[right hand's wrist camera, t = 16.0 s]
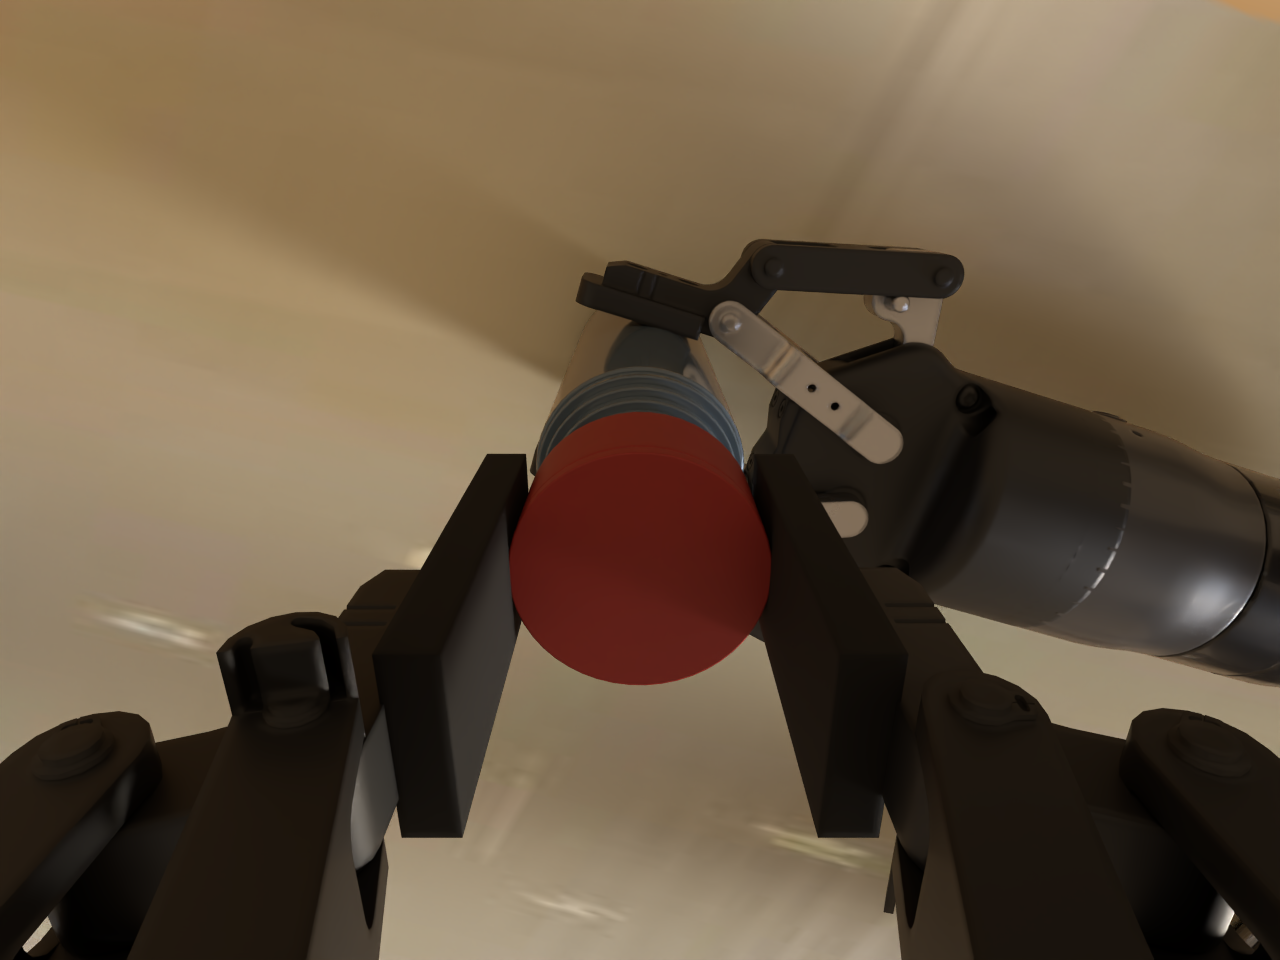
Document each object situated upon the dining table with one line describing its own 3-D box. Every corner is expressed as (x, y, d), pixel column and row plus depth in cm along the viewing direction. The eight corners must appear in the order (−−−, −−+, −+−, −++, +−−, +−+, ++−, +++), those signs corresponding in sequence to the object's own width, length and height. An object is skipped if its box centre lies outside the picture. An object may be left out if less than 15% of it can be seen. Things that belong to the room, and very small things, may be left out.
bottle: (654, 437, 30) (670, 715, 14) (554, 370, 29) (451, 589, 13) (726, 340, 28) (835, 529, 13) (624, 266, 27) (603, 371, 12)
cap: (547, 388, 13) (530, 426, 11) (780, 437, 14) (806, 483, 12) (511, 593, 15) (489, 661, 13) (720, 633, 15) (733, 705, 13)
